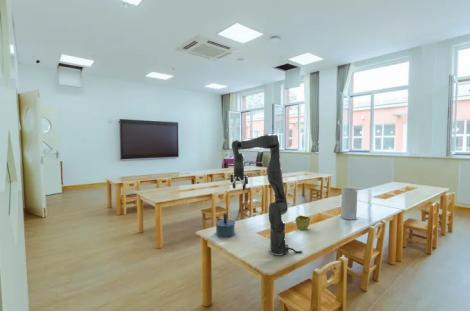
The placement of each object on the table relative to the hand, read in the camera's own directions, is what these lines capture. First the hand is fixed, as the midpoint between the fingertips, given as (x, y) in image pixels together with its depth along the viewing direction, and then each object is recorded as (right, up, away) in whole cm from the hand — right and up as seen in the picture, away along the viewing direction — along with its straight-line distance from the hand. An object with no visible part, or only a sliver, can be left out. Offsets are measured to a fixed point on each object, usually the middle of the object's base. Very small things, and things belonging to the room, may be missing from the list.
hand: (239, 189), depth 186 cm
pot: (-10, -34, +2) cm, 36 cm away
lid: (-10, -26, +1) cm, 28 cm away
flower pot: (+50, -33, +12) cm, 61 cm away
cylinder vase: (+97, -30, +36) cm, 108 cm away
